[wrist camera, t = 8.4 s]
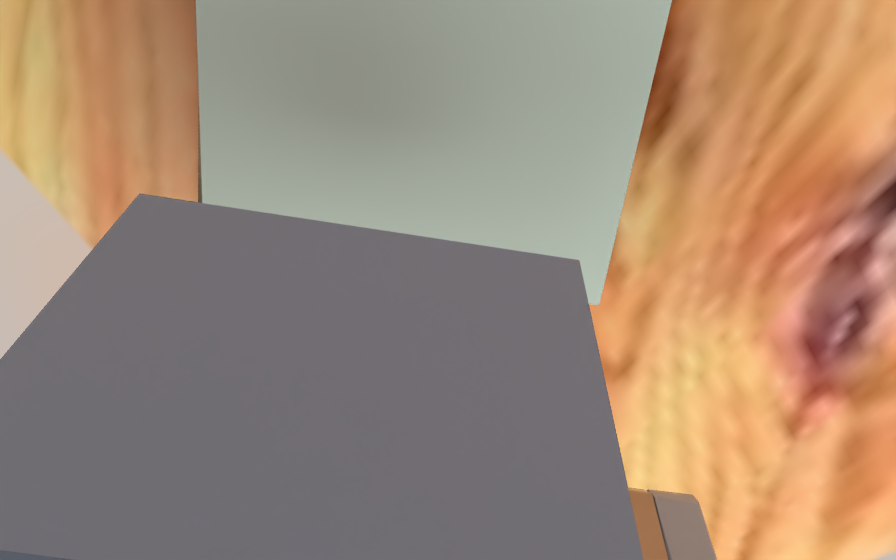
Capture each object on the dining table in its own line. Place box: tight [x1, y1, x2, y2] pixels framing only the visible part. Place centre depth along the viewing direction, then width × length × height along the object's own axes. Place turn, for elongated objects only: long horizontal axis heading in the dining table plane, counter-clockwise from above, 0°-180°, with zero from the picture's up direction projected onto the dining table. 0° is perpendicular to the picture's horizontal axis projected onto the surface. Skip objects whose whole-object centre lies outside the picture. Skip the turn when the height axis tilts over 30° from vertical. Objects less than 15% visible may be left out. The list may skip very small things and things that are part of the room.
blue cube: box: [0, 194, 643, 560], centre depth 9 cm, size 5×5×5 cm
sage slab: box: [196, 0, 672, 305], centre depth 23 cm, size 11×11×4 cm
